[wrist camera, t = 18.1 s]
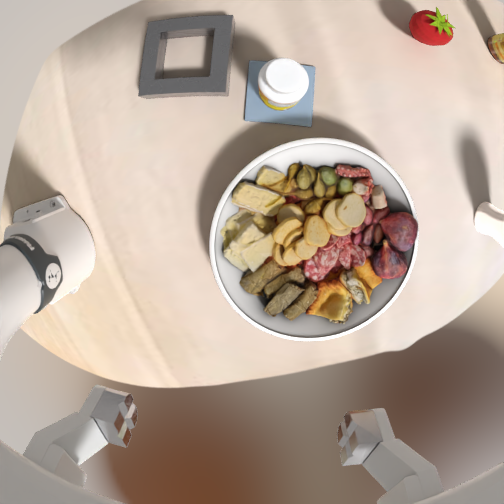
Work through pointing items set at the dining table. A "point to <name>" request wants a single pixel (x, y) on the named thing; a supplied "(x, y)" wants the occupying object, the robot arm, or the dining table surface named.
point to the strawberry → (431, 28)
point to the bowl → (314, 239)
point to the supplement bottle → (282, 83)
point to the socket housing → (187, 86)
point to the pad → (262, 113)
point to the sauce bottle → (497, 47)
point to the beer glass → (490, 221)
